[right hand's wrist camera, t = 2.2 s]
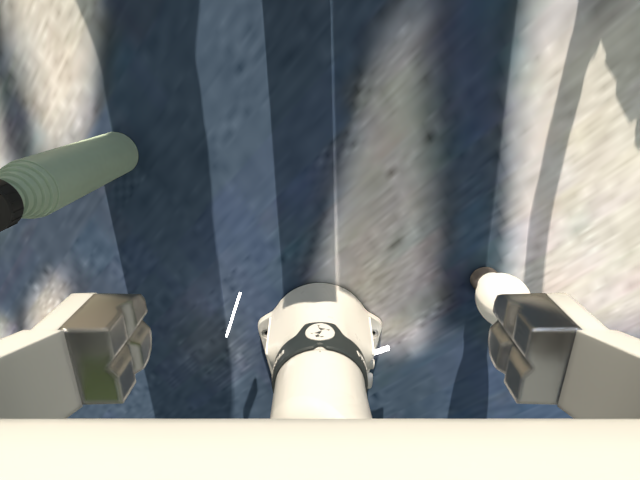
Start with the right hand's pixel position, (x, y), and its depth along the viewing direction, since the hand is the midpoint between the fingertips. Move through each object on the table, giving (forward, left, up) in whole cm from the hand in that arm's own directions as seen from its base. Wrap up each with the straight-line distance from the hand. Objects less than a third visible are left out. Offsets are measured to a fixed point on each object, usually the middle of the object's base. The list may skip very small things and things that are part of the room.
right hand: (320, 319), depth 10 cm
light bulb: (-23, -24, -48) cm, 58 cm away
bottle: (-5, +26, -48) cm, 55 cm away
